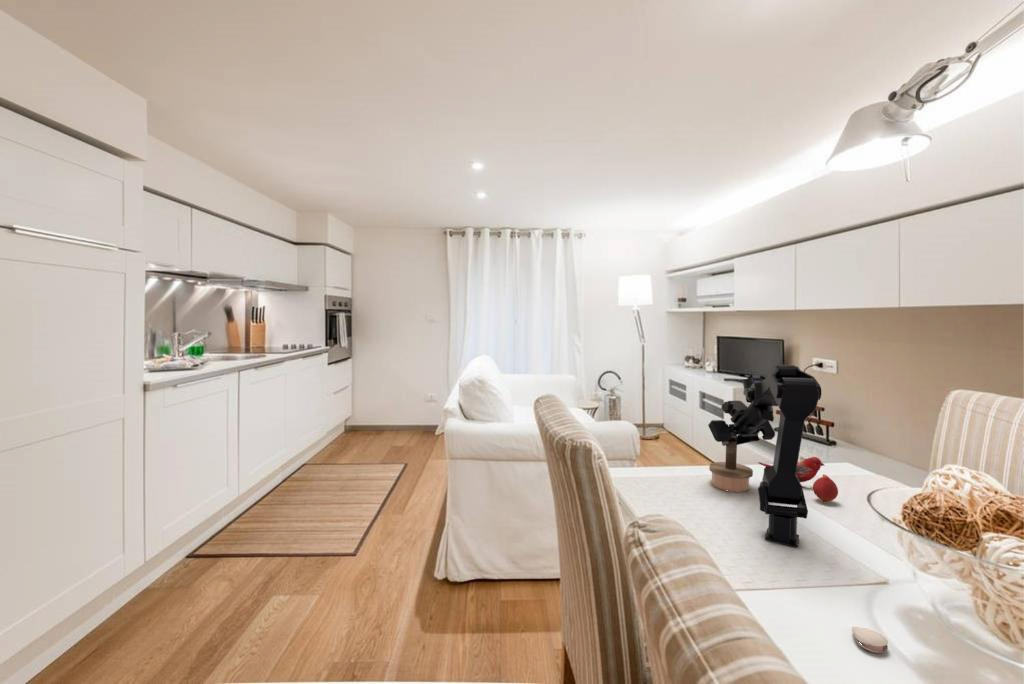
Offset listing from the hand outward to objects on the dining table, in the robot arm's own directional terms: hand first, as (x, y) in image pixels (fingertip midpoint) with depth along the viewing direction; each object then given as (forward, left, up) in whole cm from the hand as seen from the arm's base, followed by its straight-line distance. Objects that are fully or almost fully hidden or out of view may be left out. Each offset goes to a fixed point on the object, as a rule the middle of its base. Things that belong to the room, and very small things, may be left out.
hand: (728, 444), depth 140 cm
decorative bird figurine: (+10, -16, -13) cm, 23 cm away
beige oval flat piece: (-63, -31, -13) cm, 72 cm away
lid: (-1, -1, -8) cm, 8 cm away
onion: (+1, -25, -13) cm, 28 cm away
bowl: (-1, -1, -13) cm, 13 cm away
